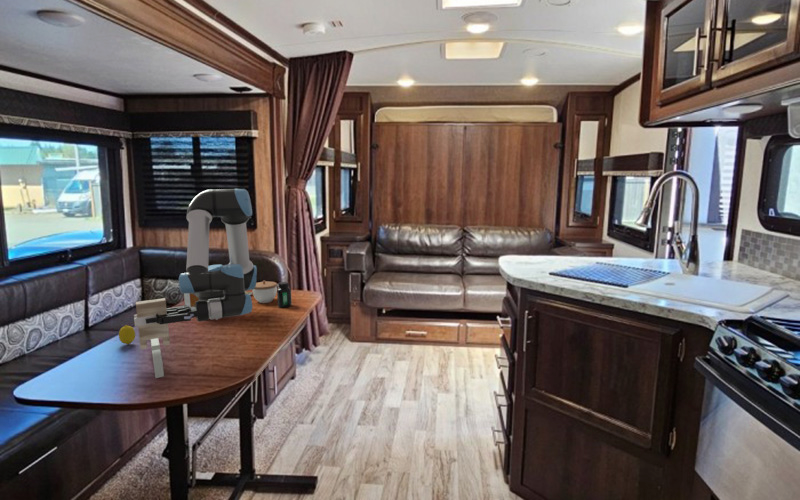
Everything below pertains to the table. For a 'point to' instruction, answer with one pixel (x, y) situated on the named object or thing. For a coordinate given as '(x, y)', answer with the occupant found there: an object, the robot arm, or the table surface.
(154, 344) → the notched board
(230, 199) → the robot arm
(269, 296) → the lidded bowl
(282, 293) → the supplement bottle
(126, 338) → the lemon
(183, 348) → the table surface
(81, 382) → the table surface
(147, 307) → the slotted tab
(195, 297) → the small box
